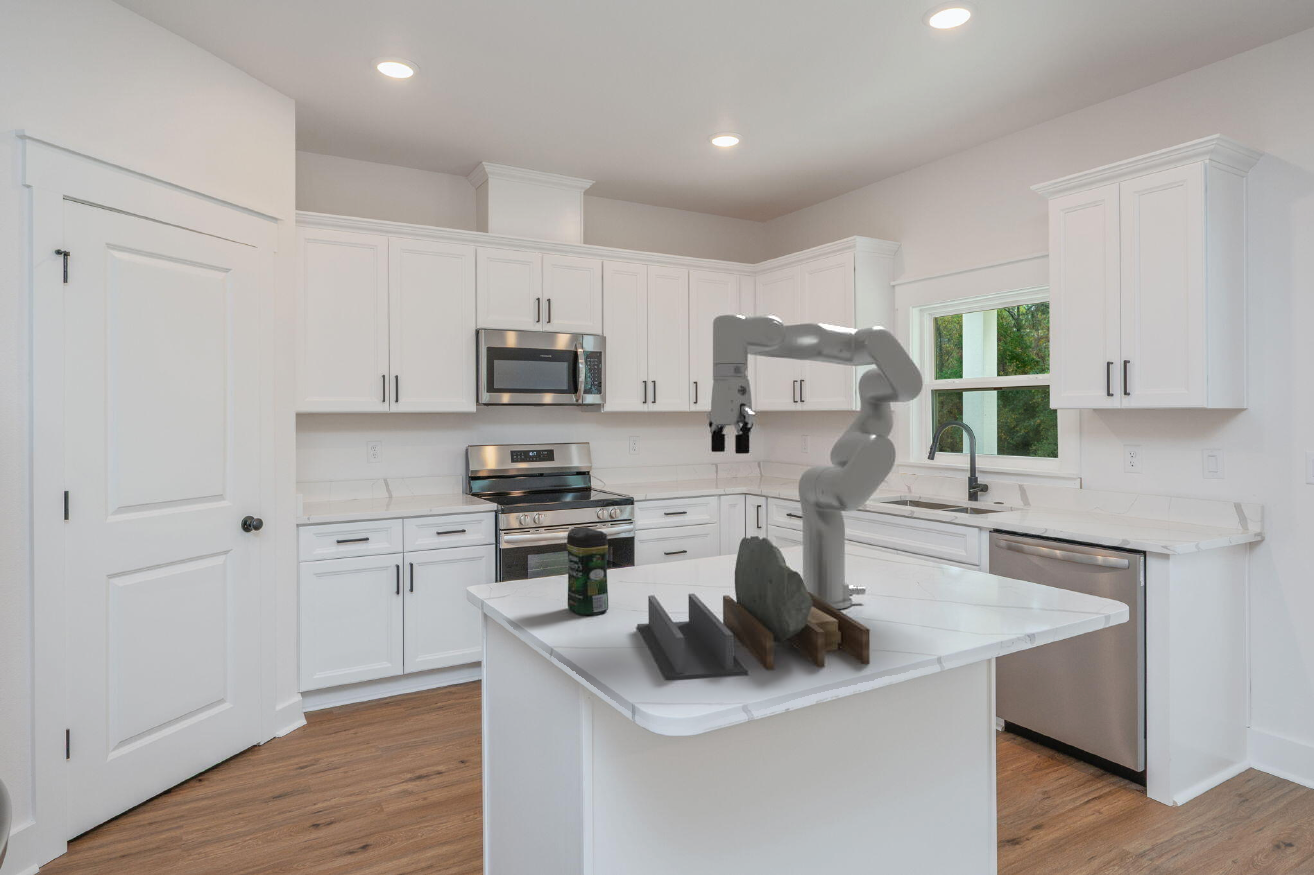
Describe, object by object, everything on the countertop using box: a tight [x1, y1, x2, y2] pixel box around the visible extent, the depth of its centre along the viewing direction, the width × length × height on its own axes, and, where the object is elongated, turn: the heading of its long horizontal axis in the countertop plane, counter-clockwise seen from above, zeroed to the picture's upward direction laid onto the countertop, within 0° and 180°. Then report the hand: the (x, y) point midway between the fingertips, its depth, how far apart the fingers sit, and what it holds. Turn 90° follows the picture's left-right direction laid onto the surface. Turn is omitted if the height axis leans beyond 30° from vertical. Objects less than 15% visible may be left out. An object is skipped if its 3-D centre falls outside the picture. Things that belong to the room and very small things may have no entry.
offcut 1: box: [807, 607, 838, 632], centre depth 144 cm, size 5×12×2 cm, turn 14°
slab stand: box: [636, 593, 749, 681], centre depth 140 cm, size 14×32×7 cm, turn 10°
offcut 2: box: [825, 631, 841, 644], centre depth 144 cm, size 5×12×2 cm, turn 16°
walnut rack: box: [722, 592, 871, 671], centre depth 143 cm, size 19×29×6 cm, turn 10°
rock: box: [734, 535, 813, 643], centre depth 142 cm, size 27×6×20 cm, turn 18°
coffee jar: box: [566, 526, 609, 616], centre depth 168 cm, size 10×8×19 cm
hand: (729, 452), depth 162 cm, fingers open, 9 cm apart
